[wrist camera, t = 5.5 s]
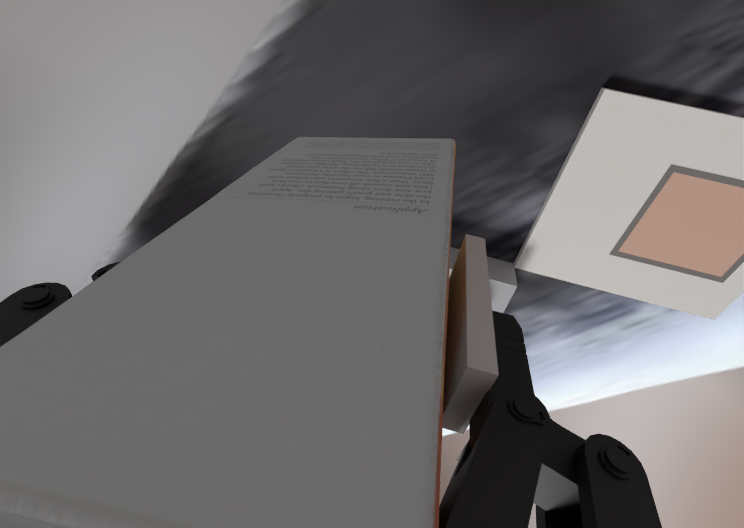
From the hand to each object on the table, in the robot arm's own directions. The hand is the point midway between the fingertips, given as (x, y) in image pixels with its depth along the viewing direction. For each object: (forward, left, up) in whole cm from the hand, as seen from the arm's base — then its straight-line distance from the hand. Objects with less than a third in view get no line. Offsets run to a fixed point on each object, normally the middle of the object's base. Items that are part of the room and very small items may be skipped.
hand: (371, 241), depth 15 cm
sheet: (+17, -1, -13) cm, 22 cm away
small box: (0, 0, -1) cm, 1 cm away
